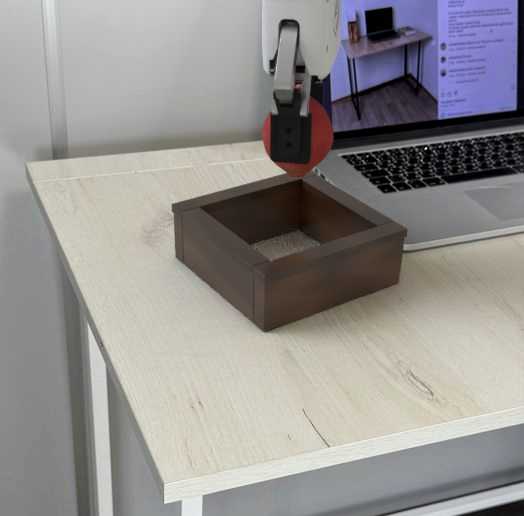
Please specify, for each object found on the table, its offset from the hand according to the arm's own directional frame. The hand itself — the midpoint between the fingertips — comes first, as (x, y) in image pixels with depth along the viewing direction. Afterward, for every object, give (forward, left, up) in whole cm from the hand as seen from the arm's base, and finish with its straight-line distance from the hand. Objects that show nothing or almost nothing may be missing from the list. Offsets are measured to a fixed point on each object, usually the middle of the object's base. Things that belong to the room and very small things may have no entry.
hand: (297, 143), depth 73 cm
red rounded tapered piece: (0, 0, -3) cm, 3 cm away
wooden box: (0, 0, -12) cm, 12 cm away
